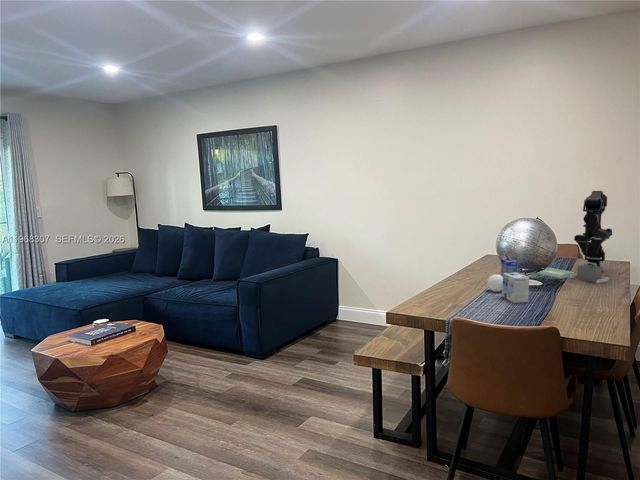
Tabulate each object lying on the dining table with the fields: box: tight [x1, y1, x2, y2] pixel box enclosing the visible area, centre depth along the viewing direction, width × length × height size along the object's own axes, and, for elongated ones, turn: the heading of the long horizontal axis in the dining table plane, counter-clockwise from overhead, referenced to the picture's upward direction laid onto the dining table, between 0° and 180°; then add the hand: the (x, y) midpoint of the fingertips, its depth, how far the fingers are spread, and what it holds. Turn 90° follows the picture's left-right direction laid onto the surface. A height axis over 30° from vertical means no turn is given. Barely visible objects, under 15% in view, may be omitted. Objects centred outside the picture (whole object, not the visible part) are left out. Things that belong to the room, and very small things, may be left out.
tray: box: [534, 267, 576, 280], centre depth 244 cm, size 11×15×2 cm
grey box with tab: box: [576, 261, 603, 283], centre depth 231 cm, size 5×9×9 cm, turn 28°
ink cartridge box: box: [500, 254, 519, 277], centre depth 225 cm, size 10×6×14 cm, turn 174°
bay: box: [569, 273, 610, 284], centre depth 232 cm, size 10×14×2 cm
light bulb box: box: [501, 272, 530, 304], centre depth 199 cm, size 11×7×11 cm, turn 5°
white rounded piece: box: [487, 274, 503, 293], centre depth 212 cm, size 8×8×12 cm
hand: (590, 254), depth 230 cm, fingers open, 9 cm apart
